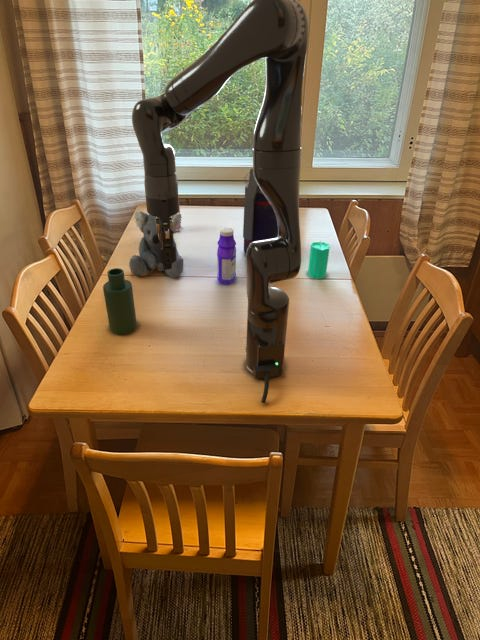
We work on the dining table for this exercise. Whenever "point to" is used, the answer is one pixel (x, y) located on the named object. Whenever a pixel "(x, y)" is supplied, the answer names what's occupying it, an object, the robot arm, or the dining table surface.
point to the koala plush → (153, 247)
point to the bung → (160, 255)
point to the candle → (318, 260)
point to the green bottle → (119, 303)
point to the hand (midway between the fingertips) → (166, 259)
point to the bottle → (226, 256)
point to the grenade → (257, 214)
